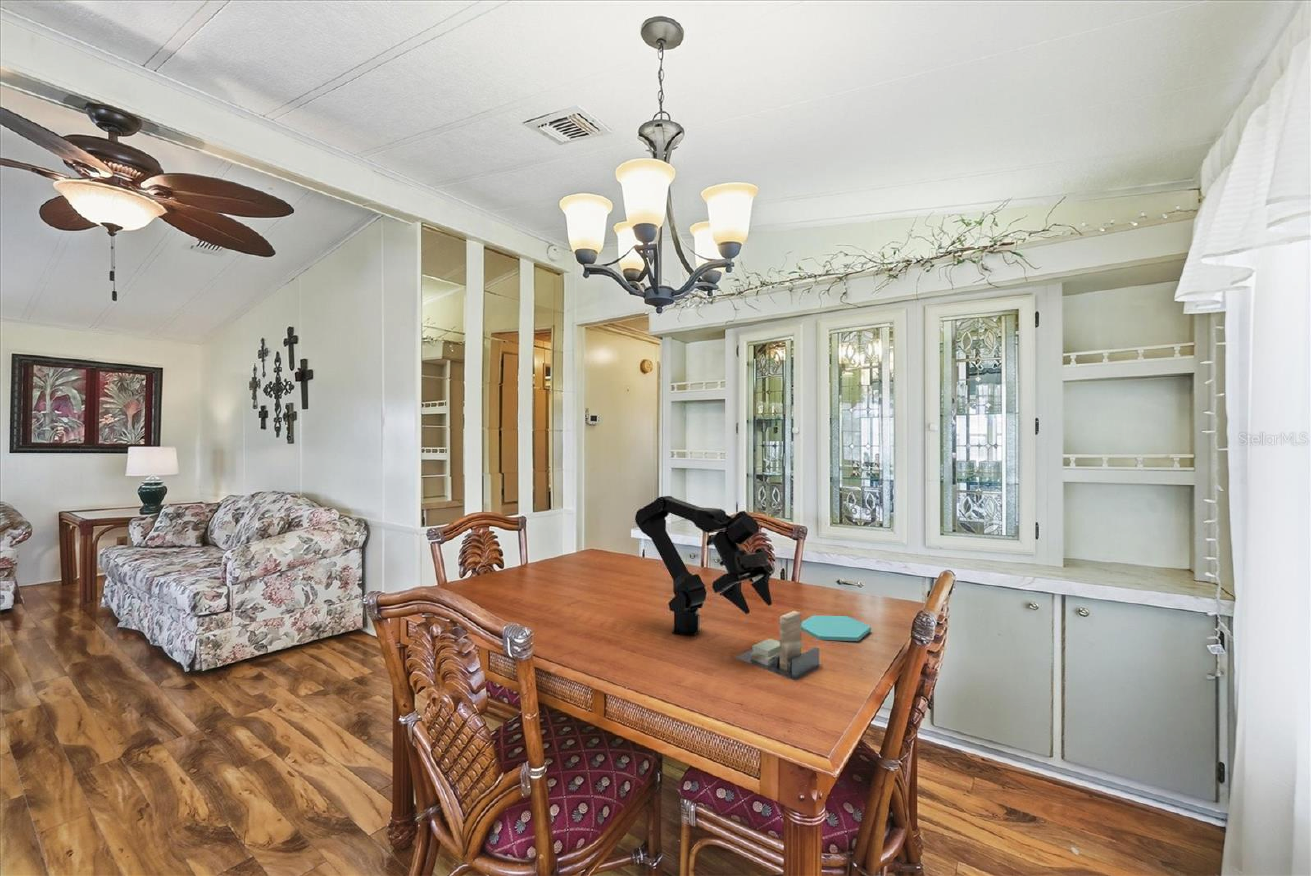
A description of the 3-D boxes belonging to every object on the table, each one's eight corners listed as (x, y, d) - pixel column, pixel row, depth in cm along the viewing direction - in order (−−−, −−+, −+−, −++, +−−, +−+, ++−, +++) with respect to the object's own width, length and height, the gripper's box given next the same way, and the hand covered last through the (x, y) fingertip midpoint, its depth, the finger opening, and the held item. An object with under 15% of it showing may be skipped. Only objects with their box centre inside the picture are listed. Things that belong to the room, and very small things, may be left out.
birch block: (779, 668, 125) (779, 616, 125) (793, 660, 129) (794, 610, 129) (787, 670, 123) (787, 618, 123) (801, 663, 128) (801, 612, 128)
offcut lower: (750, 659, 130) (750, 653, 130) (770, 650, 135) (770, 644, 135) (768, 665, 126) (768, 659, 126) (787, 656, 132) (787, 650, 132)
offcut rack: (734, 661, 131) (734, 640, 131) (763, 648, 139) (763, 629, 139) (795, 685, 119) (795, 662, 119) (823, 669, 127) (823, 648, 127)
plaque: (799, 642, 146) (877, 645, 142) (799, 635, 146) (877, 638, 142) (796, 620, 163) (865, 622, 159) (796, 614, 163) (865, 616, 159)
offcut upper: (752, 651, 131) (752, 645, 131) (769, 644, 135) (769, 638, 135) (768, 657, 127) (768, 651, 127) (784, 649, 132) (784, 643, 132)
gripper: (726, 542, 129) (758, 603, 122) (771, 533, 142) (802, 587, 135) (699, 563, 135) (727, 622, 129) (744, 552, 148) (772, 606, 141)
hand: (759, 609), depth 133 cm, fingers open, 9 cm apart
